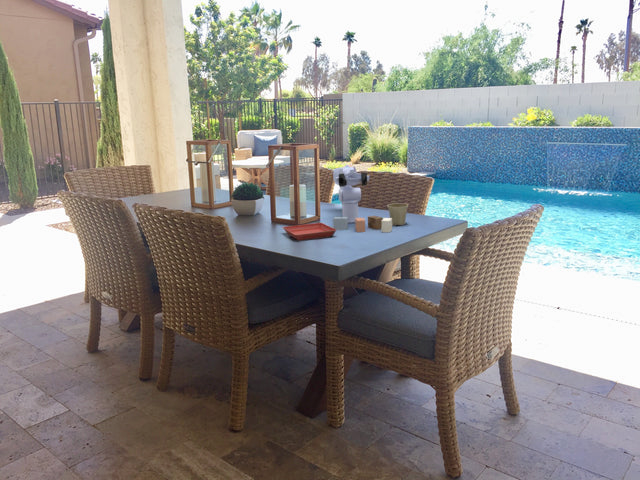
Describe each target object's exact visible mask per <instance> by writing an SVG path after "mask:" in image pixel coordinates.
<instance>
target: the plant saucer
mask: <svg viewBox="0 0 640 480" xmlns="http://www.w3.org/2000/svg"><path fill="white" fill-rule="evenodd" d="M282 229H283V230H284V231H285V233H287V235H289V236H290V237H292V238H294V239H296V240H297V241H306V240H315V239H322V238H331V237H333V235H334V234H335V233H336V232H337V230H336V229H334V228H333V227H331V226H330V225H327V224H326V223H323V222H316V223H315V222H314V223H307V224H306V223H305V224H299V225H289V226H288V225H287V226H282Z"/></svg>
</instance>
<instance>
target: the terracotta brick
mask: <svg viewBox="0 0 640 480" xmlns="http://www.w3.org/2000/svg"><path fill="white" fill-rule="evenodd" d="M354 223H355V224H354V226H355V227H354V228H355V232H356V233H366V220H365V218H364V217H358V218H355V222H354Z"/></svg>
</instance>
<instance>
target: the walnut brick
mask: <svg viewBox="0 0 640 480" xmlns="http://www.w3.org/2000/svg"><path fill="white" fill-rule="evenodd" d="M383 219H384V217H382V216H379V215H370V216H367V228H368V229H372V230H376V231H378V230H382V220H383Z"/></svg>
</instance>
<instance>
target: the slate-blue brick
mask: <svg viewBox="0 0 640 480" xmlns="http://www.w3.org/2000/svg"><path fill="white" fill-rule="evenodd" d="M348 224H349V223H348V219H347V217H343V216H334V217H333V218H332V225H333V227H332V228H334V229H336V231H339V230H340V231H344V230H345V231H346V230H348V227H349V226H348Z"/></svg>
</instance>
